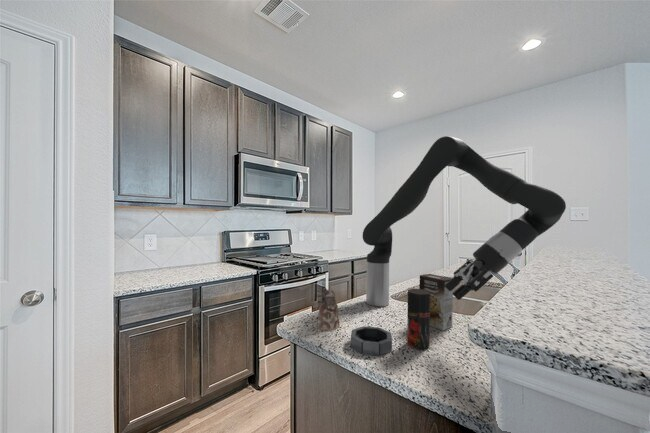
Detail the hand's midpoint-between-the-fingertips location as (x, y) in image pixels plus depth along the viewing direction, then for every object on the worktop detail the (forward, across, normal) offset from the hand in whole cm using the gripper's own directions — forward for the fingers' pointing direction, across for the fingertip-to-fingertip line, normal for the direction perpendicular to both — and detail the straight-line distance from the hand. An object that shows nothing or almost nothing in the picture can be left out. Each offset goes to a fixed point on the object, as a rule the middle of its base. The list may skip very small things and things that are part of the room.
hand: (450, 292), depth 77 cm
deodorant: (+17, 0, +5) cm, 18 cm away
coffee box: (+11, -17, +11) cm, 23 cm away
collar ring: (+26, +3, -4) cm, 26 cm away
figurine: (+36, -8, -14) cm, 39 cm away
